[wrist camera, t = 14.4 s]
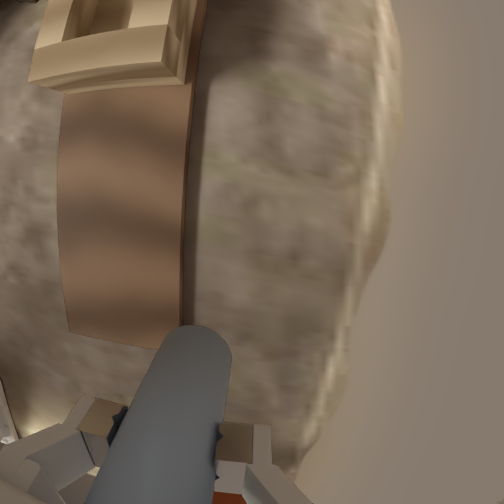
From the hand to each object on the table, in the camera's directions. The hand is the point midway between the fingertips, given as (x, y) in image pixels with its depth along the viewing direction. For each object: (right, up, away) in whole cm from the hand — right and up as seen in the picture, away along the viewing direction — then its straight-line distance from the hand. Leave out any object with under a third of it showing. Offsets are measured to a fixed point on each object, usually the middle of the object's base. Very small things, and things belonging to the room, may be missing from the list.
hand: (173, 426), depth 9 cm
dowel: (0, +1, +4) cm, 4 cm away
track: (-7, +13, +11) cm, 19 cm away
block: (-6, +21, +8) cm, 23 cm away
